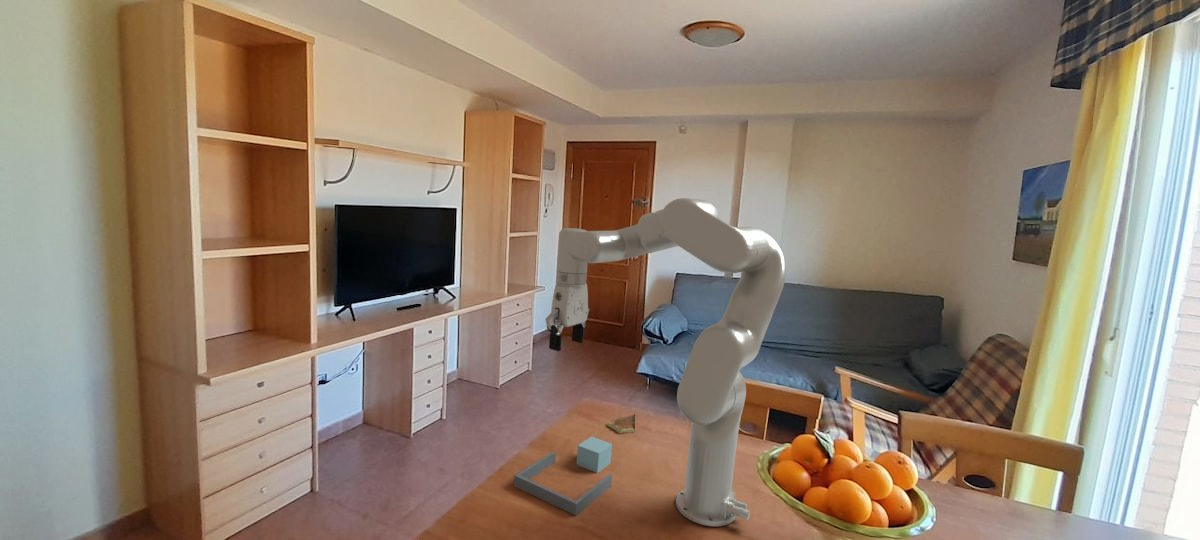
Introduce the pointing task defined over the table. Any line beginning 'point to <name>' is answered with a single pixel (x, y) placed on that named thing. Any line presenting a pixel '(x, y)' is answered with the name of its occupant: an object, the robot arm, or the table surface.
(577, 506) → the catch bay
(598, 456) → the teal block
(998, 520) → the table surface
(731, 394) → the robot arm
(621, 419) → the shard
